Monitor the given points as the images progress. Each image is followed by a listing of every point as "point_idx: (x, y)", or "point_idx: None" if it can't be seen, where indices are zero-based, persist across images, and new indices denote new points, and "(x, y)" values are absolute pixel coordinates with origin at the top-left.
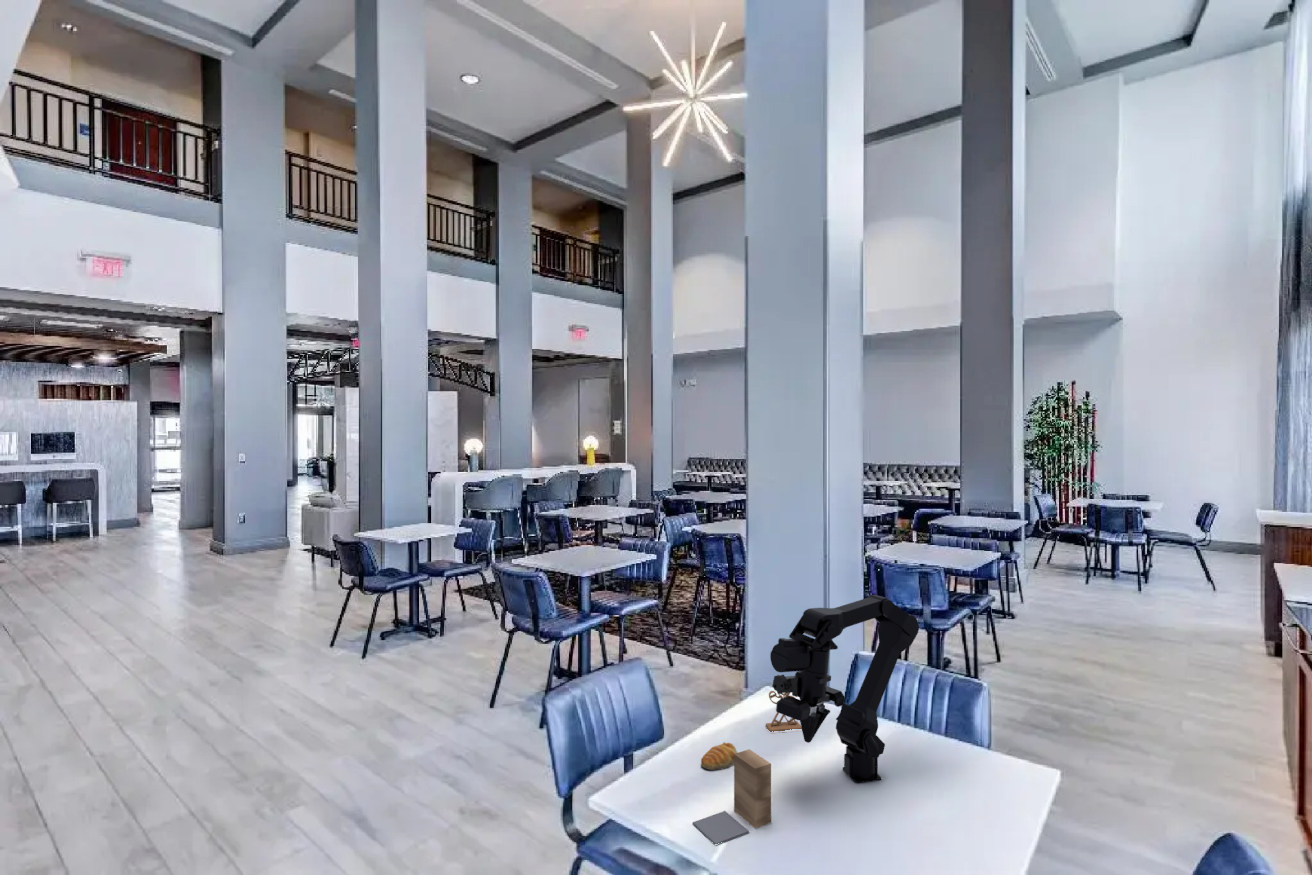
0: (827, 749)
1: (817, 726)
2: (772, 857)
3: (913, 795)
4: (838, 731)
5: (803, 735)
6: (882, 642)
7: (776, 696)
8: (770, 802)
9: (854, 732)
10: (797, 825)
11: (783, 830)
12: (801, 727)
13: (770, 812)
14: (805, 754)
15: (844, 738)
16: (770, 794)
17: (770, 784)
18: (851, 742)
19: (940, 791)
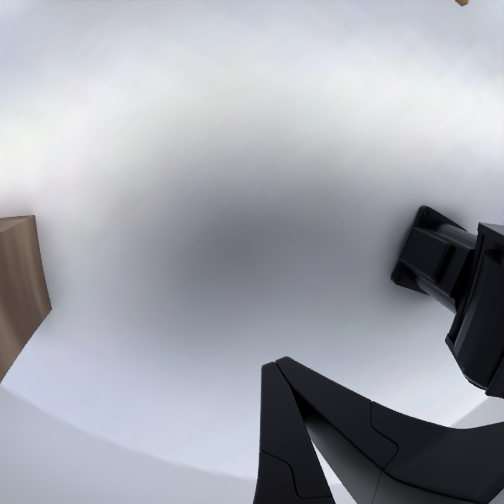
0: (460, 103)
1: (344, 485)
2: (20, 385)
3: (422, 359)
4: (495, 273)
5: (261, 391)
6: None
7: None
8: (27, 339)
9: (485, 370)
10: (106, 350)
11: (66, 346)
12: (466, 2)
13: (39, 323)
14: (403, 72)
15: (477, 291)
16: (17, 353)
17: (3, 374)
18: (465, 327)
19: (455, 361)
